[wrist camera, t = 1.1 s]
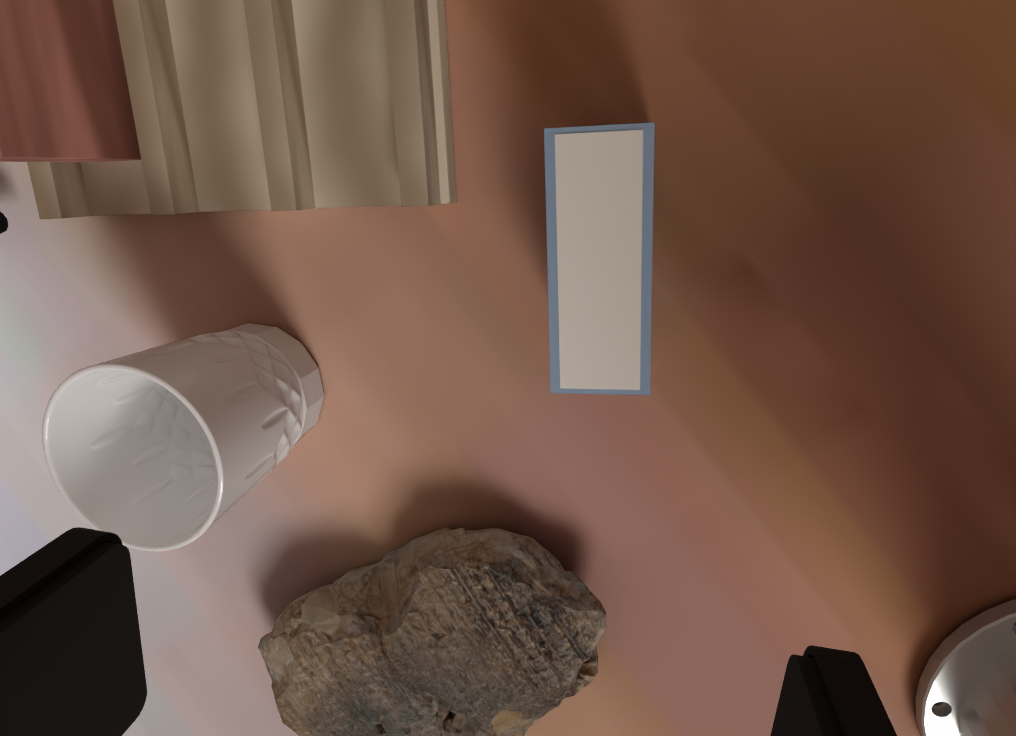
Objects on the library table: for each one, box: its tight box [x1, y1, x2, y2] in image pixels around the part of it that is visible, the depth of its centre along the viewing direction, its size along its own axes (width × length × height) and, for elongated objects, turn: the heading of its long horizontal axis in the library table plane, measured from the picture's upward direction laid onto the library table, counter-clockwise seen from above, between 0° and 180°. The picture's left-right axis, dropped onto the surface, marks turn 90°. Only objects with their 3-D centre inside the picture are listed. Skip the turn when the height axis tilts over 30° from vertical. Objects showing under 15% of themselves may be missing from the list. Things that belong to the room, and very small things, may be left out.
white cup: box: [42, 323, 324, 551], centre depth 31 cm, size 8×8×10 cm
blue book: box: [544, 122, 655, 395], centre depth 27 cm, size 4×9×8 cm, turn 2°
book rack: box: [0, 0, 457, 219], centre depth 27 cm, size 20×14×9 cm
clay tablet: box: [258, 527, 606, 736], centre depth 36 cm, size 14×5×20 cm
